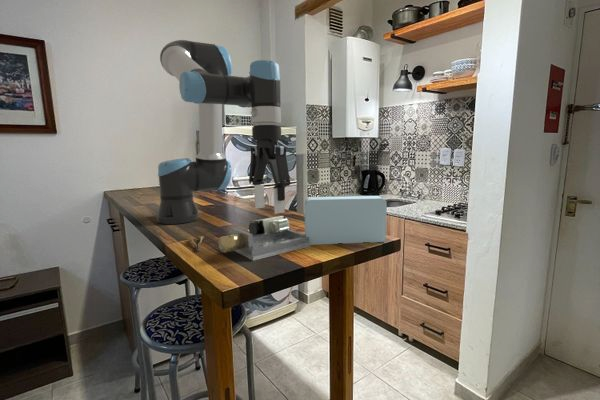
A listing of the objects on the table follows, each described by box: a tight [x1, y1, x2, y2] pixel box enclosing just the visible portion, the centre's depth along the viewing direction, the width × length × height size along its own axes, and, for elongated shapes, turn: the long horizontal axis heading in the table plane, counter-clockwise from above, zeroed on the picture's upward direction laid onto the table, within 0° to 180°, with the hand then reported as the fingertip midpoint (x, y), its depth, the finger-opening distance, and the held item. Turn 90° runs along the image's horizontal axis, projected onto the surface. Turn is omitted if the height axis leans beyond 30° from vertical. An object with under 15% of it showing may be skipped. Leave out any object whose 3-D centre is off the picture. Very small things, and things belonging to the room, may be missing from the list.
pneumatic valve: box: [248, 215, 291, 235], centre depth 99 cm, size 6×12×12 cm
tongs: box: [188, 235, 205, 253], centre depth 93 cm, size 4×13×2 cm, turn 23°
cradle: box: [218, 227, 311, 261], centre depth 88 cm, size 23×13×6 cm, turn 128°
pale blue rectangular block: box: [304, 195, 388, 246], centre depth 94 cm, size 23×6×13 cm, turn 93°
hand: (269, 210), depth 88 cm, fingers open, 9 cm apart
